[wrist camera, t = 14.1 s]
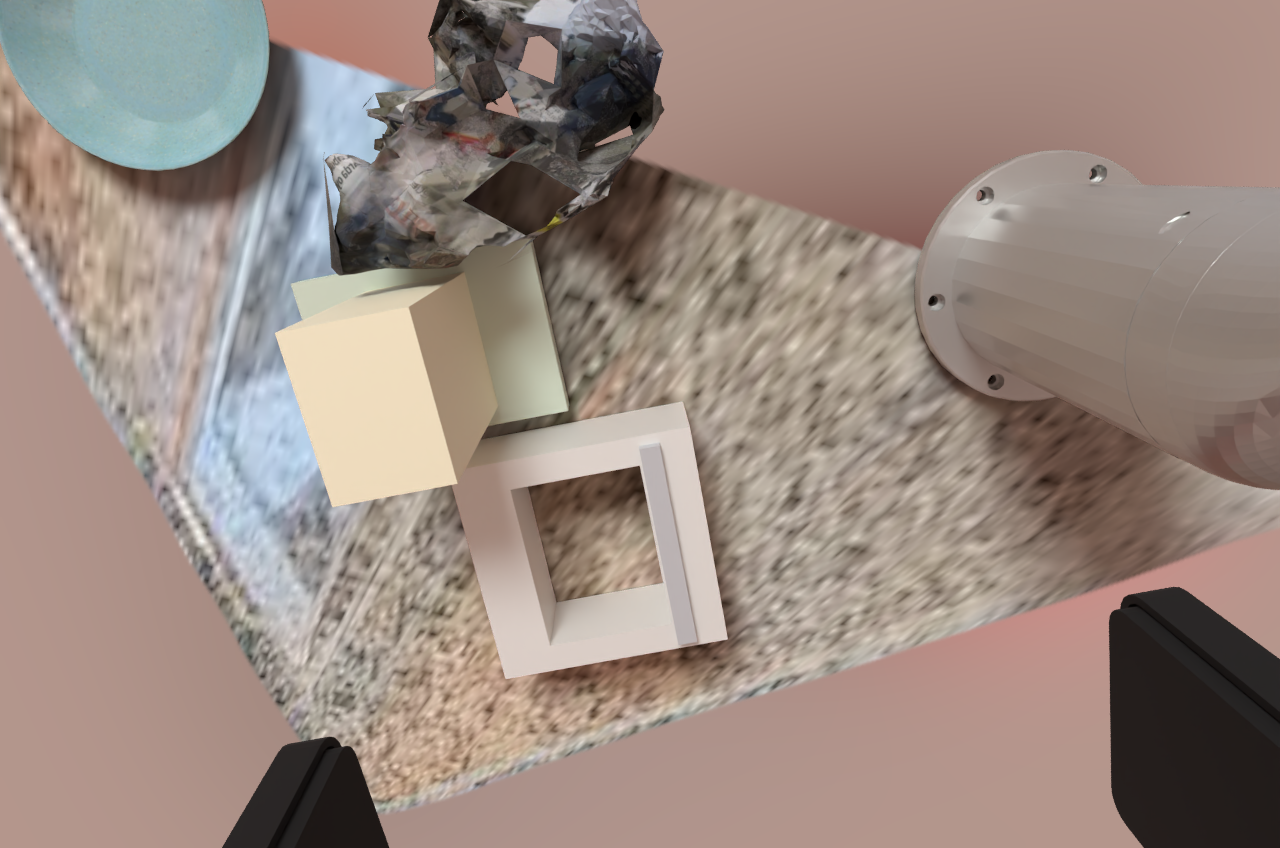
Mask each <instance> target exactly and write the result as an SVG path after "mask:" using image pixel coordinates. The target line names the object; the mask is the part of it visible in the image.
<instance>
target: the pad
mask: <svg viewBox="0 0 1280 848" xmlns="http://www.w3.org/2000/svg"><path fill="white" fill-rule="evenodd" d="M531 239H532V238H528V239H523V240H518V241H514V242H511V243H509V244H508V245H506V246H493V245H481V246H476V247H475V248H474V249H473V250H472V251H471V252H470V254H469V255H468V256H467V257H466V258H465V259H464V260H463V261H462V262H461V263H460V264H459V265H458V266H454V267H449V268H441V269H392V268H385V269H379V270H373V271H368V272H363V273H358V274H352V275H343V276H339V275H338V274H333V275H328V276H323V277H318V278H313V279H308V280H303V281H299V282H296V283H293V284H291V286H292V289H293V292H294V295H295V299H296V302H297V305H298V308H299V311H300V314H301V317H302V320H304V319H307V318H309V317H311V316H313V315H315V314H318V313H320V312H322V311H324V310H326V309H328V308H331V307H333V306H335V305H337V304H339V303H341V302H344V301H346V300H348V299H350V298H352V297H355V296H357V295H359V294H361V293H363V292H365V291H370V290H375V289H380V288H385V287H390V286H395V285H400V284H406V283H411V282H416V281H421V280H426V279H431V278H436V277H441V276H446V275H451V274H457V273H462V272H465V276H466V280H467V284H468V288H469V292H470V296H471V300H472V304H473V308H474V312H475V316H476V320H477V324H478V328H479V332H480V336H481V340H482V344H483V347H484V351H485V355H486V359H487V363H488V367H489V371H490V375H491V379H492V383H493V387H494V391H495V395H496V399H497V403H498V407H497V409H496V411H495V413H494V415H493V417H492V419H491V421H490V423H489V424H488V426H491V425H496V424H502V423H507V422H512V421H518V420H523V419H528V418H533V417H539V416H544V415H549V414H555V413H560V412H565V411H568V409H569V400H568V396H567V392H566V387H565V383H564V378H563V374H562V369H561V365H560V360H559V356H558V351H557V347H556V342H555V338H554V334H553V329H552V325H551V320H550V316H549V311H548V307H547V302H546V298H545V293H544V289H543V284H542V280H541V276H540V271H539V267H538V262H537V258H536V253H535V249H534V244H533V241H532V242H530V243H529V244H528V245H527V246H526V247H525V248H523V249H522V250H521V251H520V252H519V253H517V252H518V251H519V250H520V249H521V248H522V247H523V246H524V245H525V244H526V243H528V242H529V241H530V240H531ZM528 252H529V253H528ZM516 253H517V254H516ZM526 253H527V254H526ZM515 254H516V255H515ZM524 254H525V255H524ZM514 255H515V256H514ZM522 255H523V256H522ZM513 256H514V257H513ZM520 256H521V257H520ZM512 257H513V258H512ZM518 257H519V258H518ZM511 258H512V259H511ZM511 260H512V261H511ZM509 261H510V262H509ZM507 262H508V263H507ZM505 263H506V264H505ZM503 264H504V265H503ZM496 267H497V268H496Z"/></svg>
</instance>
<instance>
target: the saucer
mask: <svg viewBox="0 0 1280 848" xmlns="http://www.w3.org/2000/svg"><path fill="white" fill-rule="evenodd" d="M0 43H1V46H2V49H3V52H4V55H5V57H6V60H7V63H8V65H9V67H10V69H11V71H12V73H13V75H14V77H15V79H16V81H17V82H18V84H19V86H20V87H21V88H22V91H23V92H24V94H25V95H26V97H27V98H28V100H29V101H30V102H31V103H32V105H33V106H34V107H35V109H36V110H37V111H38V112H39V113H40V114H41V116H42V117H43V118H45V119H46V120H47V121H48V123H49V124H50V125H51V126H52V127H53V128H54V129H55V130H56V131H57V132H58V133H60V134H62V135H63V136H64V137H65V138H66V139H68V140H69V141H71V142H72V143H73V144H75V145H77V146H78V147H80V148H82V149H83V150H85V151H87V152H89V153H90V154H92V155H95V156H97V157H99V158H101V159H103V160H105V161H109V162H111V163H114V164H118V165H121V166H125V167H128V168H134V169H142V170H154V171H163V170H173V169H177V168H183V167H186V166H190V165H193V164H196V163H199V162H201V161H203V160H205V159H207V158H209V157H211V156H213V155H214V154H216V153H218V152H219V151H221V150H222V149H224V148H225V147H226V146H227V145H229V144H230V143H231V142H233V141H234V140H235V138H236V137H237V136H238V135H239V134H240V133H241V132H242V130H243V129H244V128H245V127H246V126H247V124H248V122H249V121H250V120H251V118H252V116H253V114H254V113H255V110H256V108H257V106H258V104H259V102H260V99H261V97H262V94H263V91H264V88H265V83H266V79H267V74H268V66H269V52H270V46H269V31H268V24H267V19H266V13H265V9H264V5H263V2H262V0H0Z"/></svg>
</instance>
